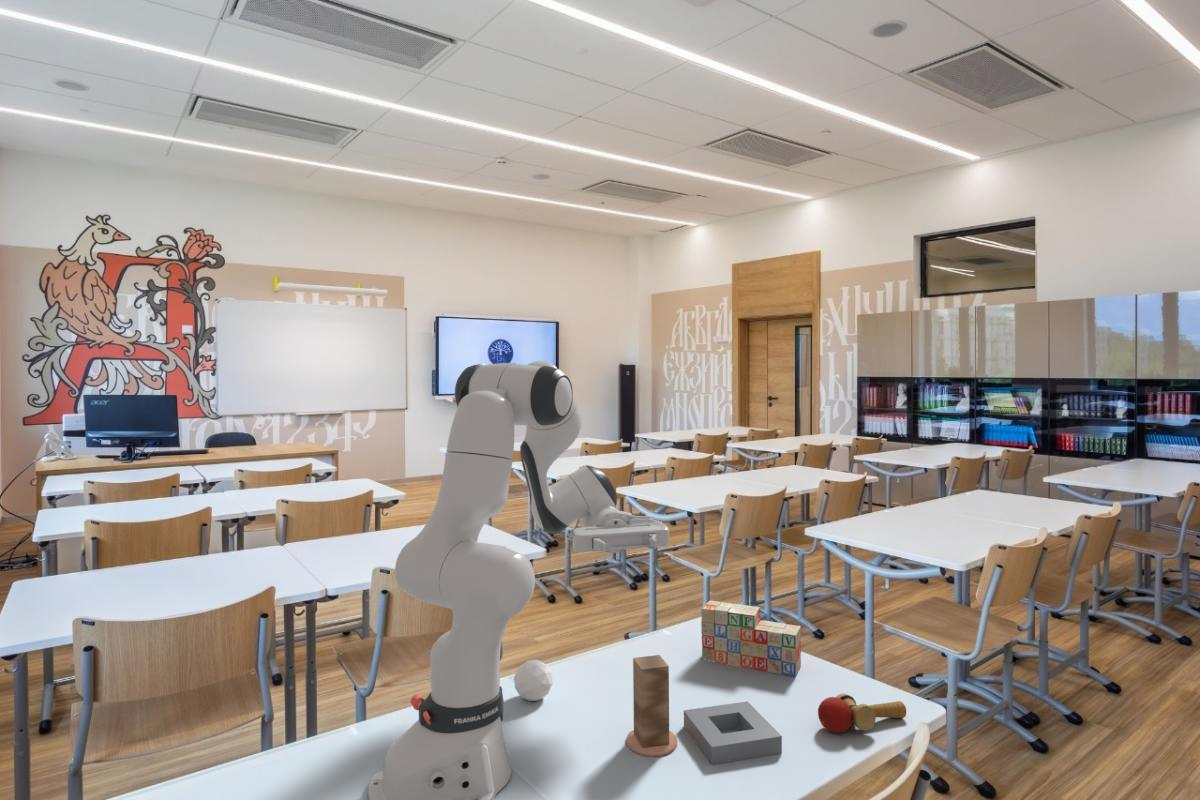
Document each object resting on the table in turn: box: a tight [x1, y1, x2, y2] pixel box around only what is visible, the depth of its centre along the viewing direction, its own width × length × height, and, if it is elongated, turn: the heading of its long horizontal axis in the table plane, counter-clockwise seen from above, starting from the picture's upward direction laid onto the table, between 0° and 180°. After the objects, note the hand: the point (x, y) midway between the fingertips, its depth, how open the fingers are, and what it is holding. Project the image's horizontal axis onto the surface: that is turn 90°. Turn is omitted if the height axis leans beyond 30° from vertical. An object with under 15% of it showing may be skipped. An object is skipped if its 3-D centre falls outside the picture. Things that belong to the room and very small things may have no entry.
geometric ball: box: [513, 659, 553, 702], centre depth 139 cm, size 8×8×8 cm
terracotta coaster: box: [626, 729, 678, 758], centre depth 122 cm, size 9×9×1 cm
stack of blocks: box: [700, 600, 802, 678], centre depth 154 cm, size 21×6×12 cm, turn 63°
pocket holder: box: [683, 701, 783, 765], centre depth 122 cm, size 13×13×3 cm
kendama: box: [817, 692, 907, 734], centre depth 127 cm, size 8×6×18 cm
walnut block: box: [632, 654, 670, 749], centre depth 121 cm, size 5×5×14 cm
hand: (630, 546), depth 134 cm, fingers open, 8 cm apart
